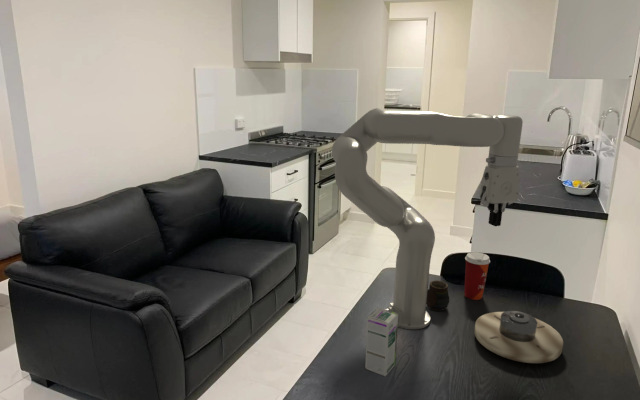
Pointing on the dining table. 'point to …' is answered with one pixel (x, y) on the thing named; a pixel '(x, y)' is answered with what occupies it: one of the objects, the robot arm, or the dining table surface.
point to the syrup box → (381, 341)
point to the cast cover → (518, 326)
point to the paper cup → (475, 274)
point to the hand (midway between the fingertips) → (494, 224)
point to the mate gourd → (437, 295)
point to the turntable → (535, 351)
